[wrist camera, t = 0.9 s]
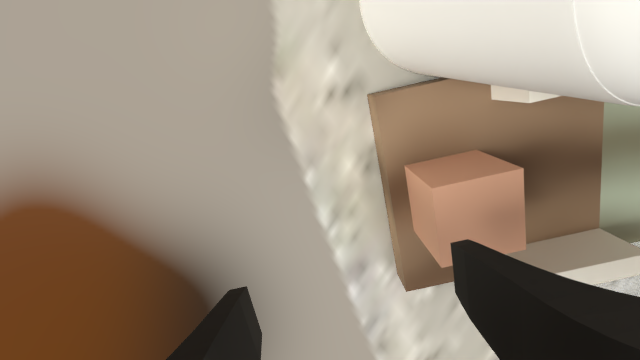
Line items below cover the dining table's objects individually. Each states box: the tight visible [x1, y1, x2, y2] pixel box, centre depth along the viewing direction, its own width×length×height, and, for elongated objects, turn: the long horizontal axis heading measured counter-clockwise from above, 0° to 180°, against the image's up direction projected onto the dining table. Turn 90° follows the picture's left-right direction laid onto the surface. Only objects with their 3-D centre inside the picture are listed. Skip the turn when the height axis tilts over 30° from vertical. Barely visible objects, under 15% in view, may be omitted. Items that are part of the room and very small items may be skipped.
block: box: [405, 150, 526, 268], centre depth 17 cm, size 4×4×4 cm
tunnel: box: [491, 85, 640, 285], centre depth 17 cm, size 11×6×3 cm, turn 12°
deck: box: [367, 78, 640, 292], centre depth 19 cm, size 12×24×2 cm, turn 102°
